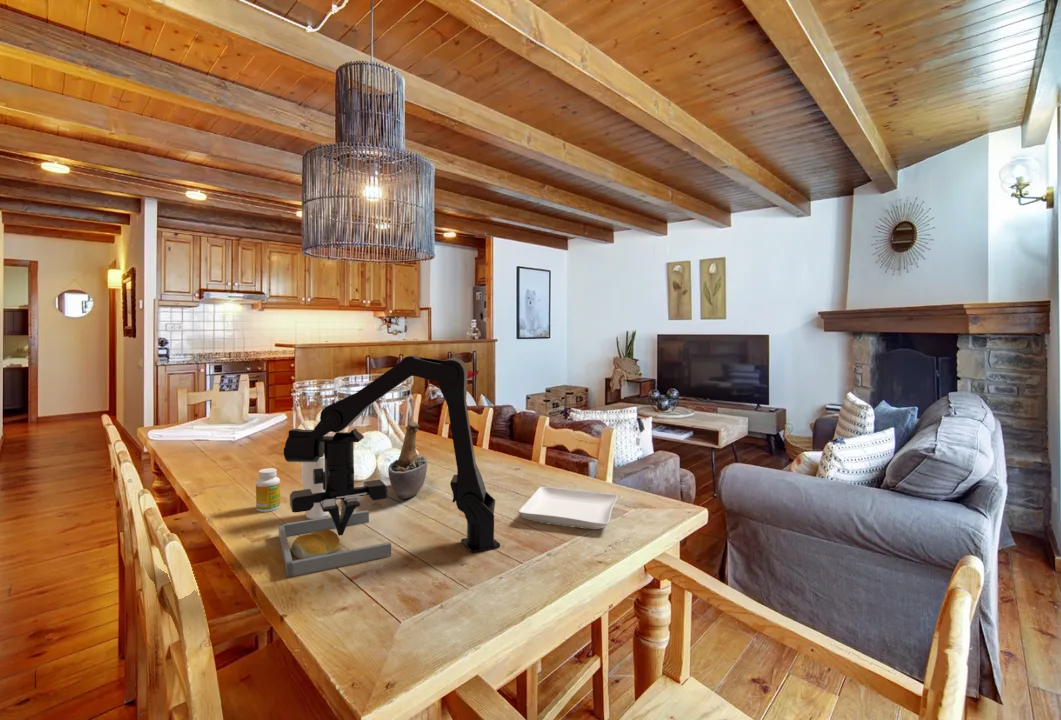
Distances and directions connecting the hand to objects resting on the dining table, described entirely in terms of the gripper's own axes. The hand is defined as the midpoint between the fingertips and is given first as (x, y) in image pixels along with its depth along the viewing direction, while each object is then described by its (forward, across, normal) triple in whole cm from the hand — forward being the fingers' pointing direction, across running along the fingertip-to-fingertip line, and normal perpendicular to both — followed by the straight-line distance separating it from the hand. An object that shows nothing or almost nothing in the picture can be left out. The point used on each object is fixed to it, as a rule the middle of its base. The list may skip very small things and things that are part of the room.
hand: (340, 534), depth 110 cm
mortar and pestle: (+2, -22, -25) cm, 33 cm away
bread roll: (+2, +5, +1) cm, 6 cm away
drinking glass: (+2, +2, -19) cm, 19 cm away
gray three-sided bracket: (+2, +1, 0) cm, 2 cm away
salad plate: (+3, -53, +8) cm, 54 cm away
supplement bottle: (+2, +12, -30) cm, 32 cm away
